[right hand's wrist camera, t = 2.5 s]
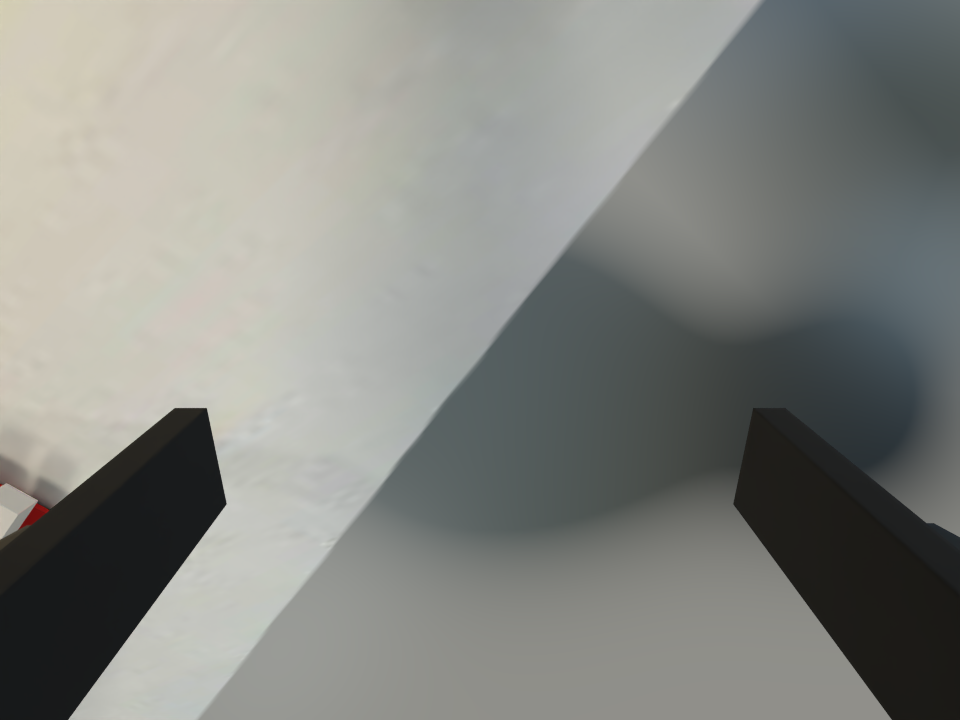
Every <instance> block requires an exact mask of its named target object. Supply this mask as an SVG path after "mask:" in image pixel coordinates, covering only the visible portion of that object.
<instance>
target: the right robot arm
mask: <svg viewBox="0 0 960 720" xmlns="http://www.w3.org/2000/svg"><path fill="white" fill-rule="evenodd" d="M225 506H226V499H225V494H224V489H223V484H222V479H221V475H220V470H219V465H218V460H217V455H216V451H215V446H214V441H213V436H212V431H211V426H210V422H209V417H208V412H207V408H174V409H173V410H172V411H171V412H170V413H168V414H167V415H166V416H165V417H163V418H162V419H161V420H160V421H158V422H157V423H156V424H155V425H154V426H152V427H151V428H150V429H149V430H147V431H146V432H145V433H144V434H143V435H141V436H140V437H139V438H138V439H136V440H135V441H134V442H133V443H131V444H130V445H129V446H128V447H127V448H125V449H124V450H123V451H122V452H120V453H119V454H118V455H117V456H116V457H114V458H113V459H112V460H111V461H109V462H108V463H107V464H106V465H104V466H103V467H102V468H101V469H100V470H98V471H97V472H96V473H95V474H93V475H92V476H91V477H90V478H89V479H87V480H86V481H85V482H84V483H82V484H81V485H80V486H79V487H77V488H76V489H75V490H74V491H73V492H71V493H70V494H69V495H68V496H66V497H65V498H64V499H63V500H62V501H60V502H59V503H58V504H57V505H55V506H54V507H53V508H52V509H50V510H49V511H48V512H47V513H46V514H44V515H43V516H42V517H41V518H39V519H38V520H37V521H36V522H35V523H33V524H32V525H26V526H25V527H23V528H21V529H19V530H17V531H15V532H13V533H12V534H10V535H8V536H6V537H4V538H2V539H0V720H68V719H69V718H70V716H71V715H72V714H73V712H74V711H75V710H76V708H77V707H78V705H79V704H80V703H81V701H82V700H83V699H84V697H85V696H86V695H87V693H88V692H89V691H90V689H91V688H92V686H93V685H94V684H95V682H96V681H97V680H98V678H99V677H100V676H101V674H102V673H103V671H104V670H105V669H106V667H107V666H108V665H109V663H110V662H111V661H112V659H113V658H114V657H115V655H116V654H117V652H118V651H119V650H120V648H121V647H122V646H123V644H124V643H125V642H126V640H127V639H128V637H129V636H130V635H131V633H132V632H133V631H134V629H135V628H136V627H137V625H138V624H139V623H140V621H141V620H142V618H143V617H144V616H145V614H146V613H147V612H148V610H149V609H150V608H151V606H152V605H153V604H154V602H155V601H156V599H157V598H158V597H159V595H160V594H161V593H162V591H163V590H164V589H165V587H166V586H167V584H168V583H169V582H170V580H171V579H172V578H173V576H174V575H175V574H176V572H177V571H178V570H179V568H180V567H181V565H182V564H183V563H184V561H185V560H186V559H187V557H188V556H189V555H190V553H191V552H192V550H193V549H194V548H195V546H196V545H197V544H198V542H199V541H200V540H201V538H202V537H203V536H204V534H205V533H206V531H207V530H208V529H209V527H210V526H211V525H212V523H213V522H214V521H215V519H216V518H217V516H218V515H219V514H220V512H221V511H222V510H223V508H224V507H225ZM734 506H735V507H736V508H737V510H738V511H739V512H740V514H741V515H742V516H743V518H744V519H745V521H746V522H747V523H748V525H749V526H750V527H751V529H752V530H753V531H754V533H755V534H756V535H757V537H758V538H759V540H760V541H761V542H762V544H763V545H764V546H765V548H766V549H767V550H768V552H769V553H770V555H771V556H772V557H773V559H774V560H775V561H776V563H777V564H778V565H779V567H780V568H781V570H782V571H783V572H784V574H785V575H786V576H787V578H788V579H789V580H790V582H791V583H792V584H793V586H794V587H795V589H796V590H797V591H798V593H799V594H800V595H801V597H802V598H803V599H804V601H805V602H806V603H807V605H808V606H809V608H810V609H811V610H812V612H813V613H814V614H815V616H816V617H817V618H818V620H819V621H820V623H821V624H822V625H823V627H824V628H825V629H826V631H827V632H828V633H829V635H830V636H831V637H832V639H833V640H834V642H835V643H836V644H837V646H838V647H839V648H840V650H841V651H842V652H843V654H844V655H845V657H846V658H847V659H848V661H849V662H850V663H851V665H852V666H853V667H854V669H855V670H856V671H857V673H858V674H859V676H860V677H861V678H862V680H863V681H864V682H865V684H866V685H867V686H868V688H869V689H870V691H871V692H872V693H873V695H874V696H875V697H876V699H877V700H878V701H879V703H880V704H881V705H882V707H883V708H884V710H885V711H886V712H887V714H888V715H889V716H890V718H891V719H892V720H960V537H958V536H956V535H954V534H953V533H951V532H949V531H947V530H945V529H943V528H941V527H940V526H938V525H936V524H934V523H925V522H924V521H923V520H922V519H921V518H919V517H918V516H917V515H916V514H914V513H913V512H912V511H911V510H910V509H908V508H907V507H906V506H905V505H903V504H902V503H901V502H900V501H898V500H897V499H896V498H895V497H894V496H892V495H891V494H890V493H889V492H887V491H886V490H885V489H884V488H882V487H881V486H880V485H879V484H878V483H876V482H875V481H874V480H873V479H871V478H870V477H869V476H868V475H867V474H865V473H864V472H863V471H862V470H860V469H859V468H858V467H857V466H856V465H854V464H853V463H852V462H851V461H849V460H848V459H847V458H846V457H844V456H843V455H842V454H841V453H840V452H838V451H837V450H836V449H835V448H833V447H832V446H831V445H830V444H828V443H827V442H826V441H825V440H824V439H822V438H821V437H820V436H819V435H817V434H816V433H815V432H814V431H813V430H811V429H810V428H809V427H808V426H806V425H805V424H804V423H803V422H801V421H800V420H799V419H798V418H797V417H795V416H794V415H793V414H792V413H790V412H789V411H788V410H787V409H786V408H753V412H752V417H751V422H750V427H749V431H748V436H747V441H746V446H745V451H744V455H743V460H742V465H741V470H740V475H739V479H738V484H737V489H736V494H735V499H734Z"/></svg>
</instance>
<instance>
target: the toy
mask: <svg viewBox="0 0 960 720" xmlns="http://www.w3.org/2000/svg"><path fill="white" fill-rule="evenodd" d="M37 502H38V500H36V499H34V498H33V497H31V496H29V495H27V494H25V493H24V492H22V491H20V490H18V489H16V488H15V487H13V486H11V485H9V484H7V483H6V484H4V485H1V484H0V539H2V538H4V537H6V536H8V535H10V534H12V533H13V532H15V531H17V530H19V529H21V528H23V527H25V526H26V525H32V524H33V523H35V522H36V521H37V520H38V519H39V518H41V517H42V516H43V515H44V514H46V513H47V512H48V511H49V509H47V508H45V507H43V506H41V505H39V504H37Z"/></svg>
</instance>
